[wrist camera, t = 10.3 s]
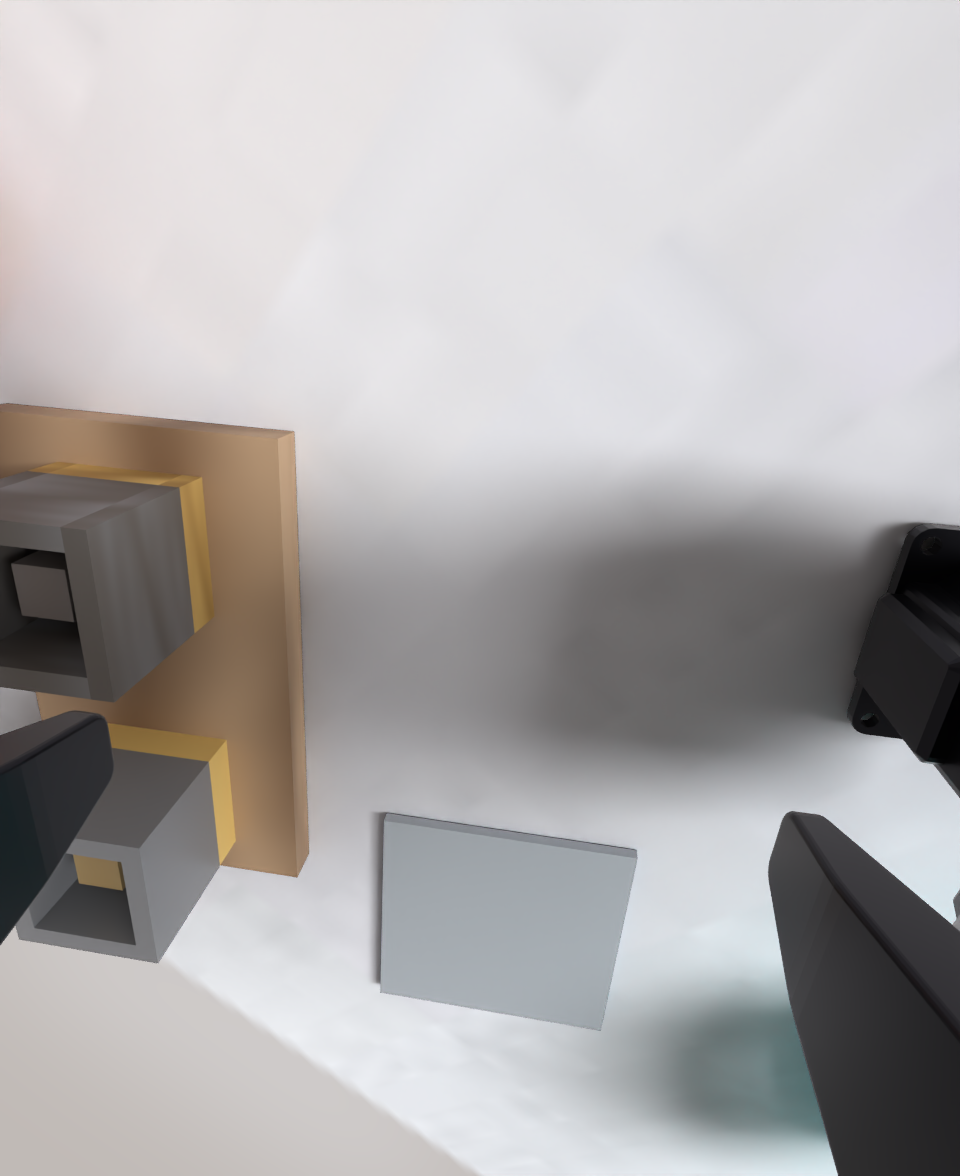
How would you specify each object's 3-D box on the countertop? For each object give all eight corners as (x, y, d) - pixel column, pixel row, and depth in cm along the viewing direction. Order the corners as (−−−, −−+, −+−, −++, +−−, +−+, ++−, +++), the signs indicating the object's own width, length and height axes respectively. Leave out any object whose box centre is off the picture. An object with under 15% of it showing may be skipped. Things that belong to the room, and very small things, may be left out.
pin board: (293, 431, 20) (180, 482, 14) (309, 853, 26) (234, 1006, 20) (7, 403, 20) (-211, 440, 15) (88, 818, 27) (-43, 956, 21)
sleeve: (235, 840, 25) (157, 963, 20) (121, 822, 25) (19, 939, 20) (226, 739, 23) (139, 848, 18) (103, 722, 23) (-13, 824, 19)
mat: (636, 850, 24) (637, 858, 24) (600, 1020, 27) (600, 1030, 27) (386, 812, 25) (384, 820, 24) (382, 983, 28) (380, 992, 28)
